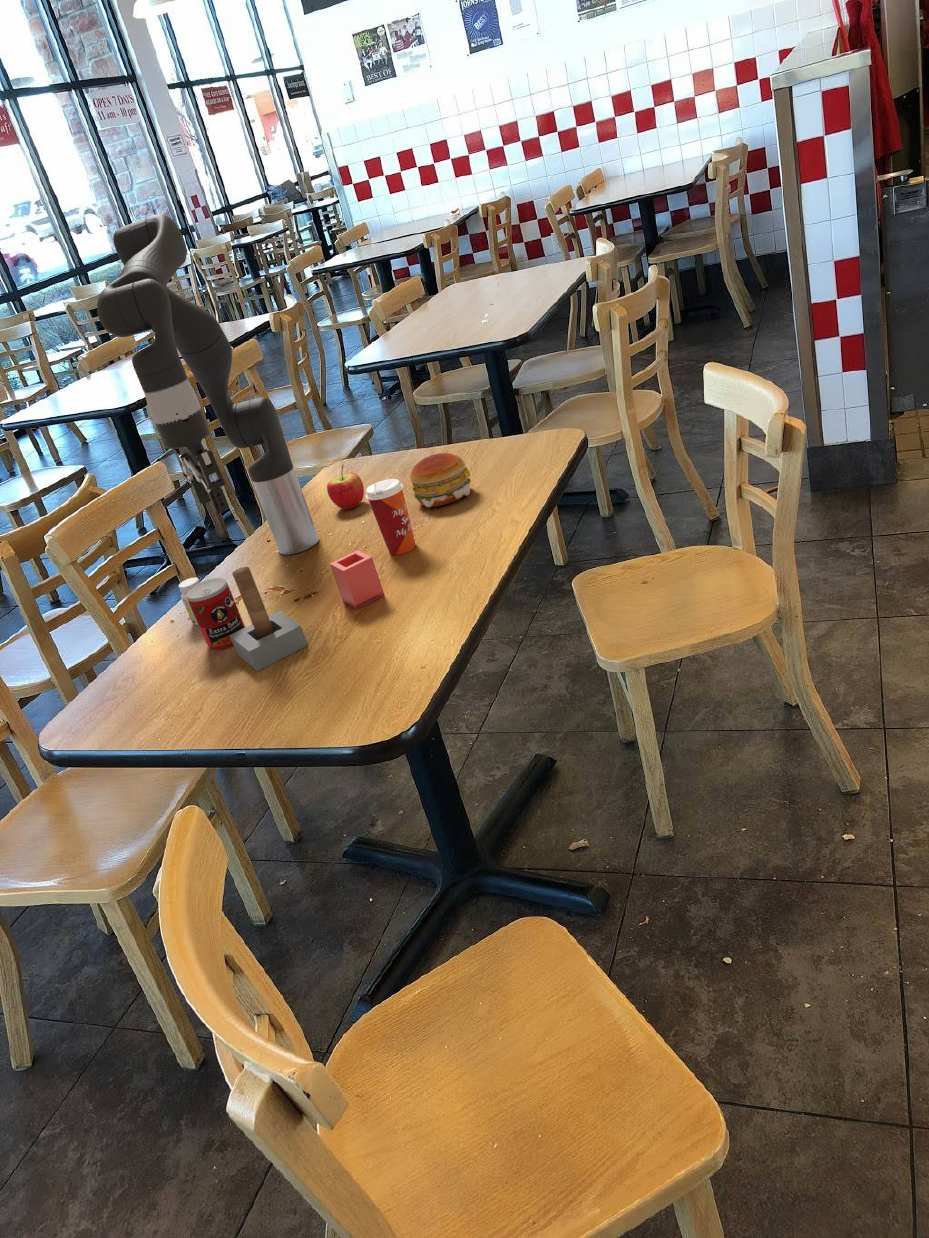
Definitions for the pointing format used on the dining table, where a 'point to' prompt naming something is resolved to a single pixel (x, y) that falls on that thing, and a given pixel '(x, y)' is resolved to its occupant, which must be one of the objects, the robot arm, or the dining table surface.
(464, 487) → the burger
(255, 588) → the dowel
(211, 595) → the canned food
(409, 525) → the paper cup
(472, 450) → the dining table surface
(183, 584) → the supplement bottle
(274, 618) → the holder
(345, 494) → the apple
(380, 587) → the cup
